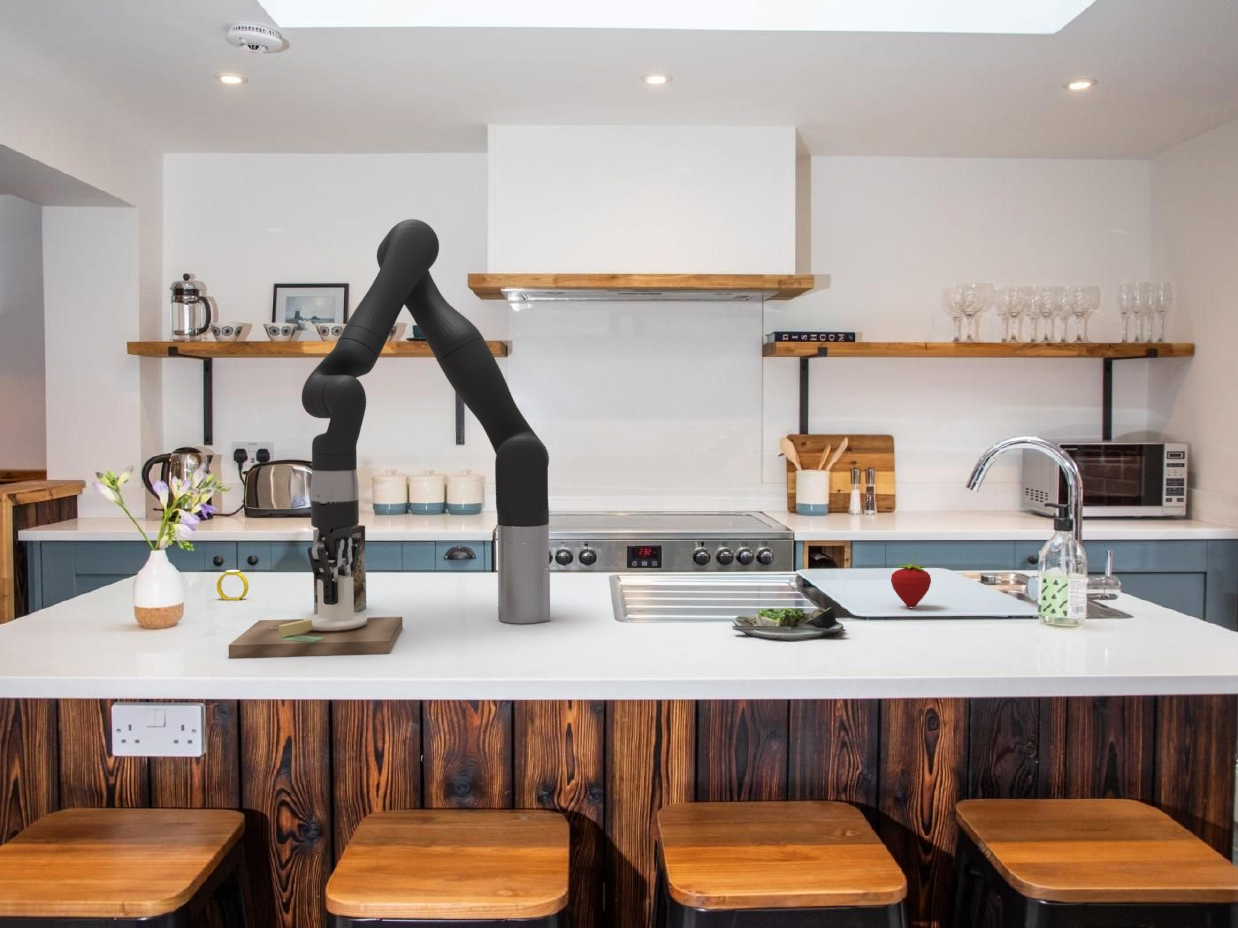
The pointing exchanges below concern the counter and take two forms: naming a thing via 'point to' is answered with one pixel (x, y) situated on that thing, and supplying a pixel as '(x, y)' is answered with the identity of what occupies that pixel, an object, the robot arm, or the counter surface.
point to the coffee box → (358, 575)
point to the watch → (232, 572)
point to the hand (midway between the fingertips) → (336, 601)
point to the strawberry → (911, 583)
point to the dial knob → (330, 612)
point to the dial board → (317, 640)
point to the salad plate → (790, 624)
